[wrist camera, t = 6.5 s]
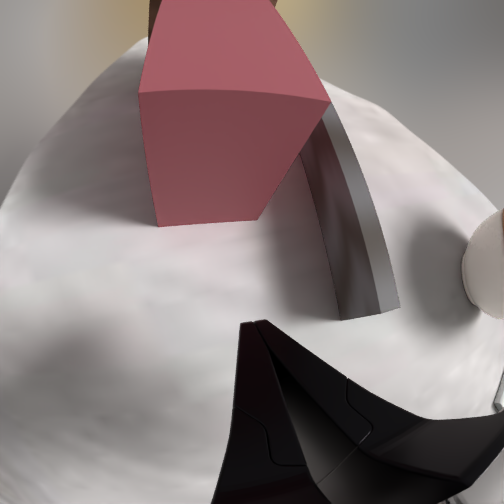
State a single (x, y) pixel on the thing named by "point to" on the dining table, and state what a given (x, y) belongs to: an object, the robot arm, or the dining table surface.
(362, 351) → the dining table surface
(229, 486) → the robot arm
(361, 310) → the bookend
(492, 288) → the lidded jar
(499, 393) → the external hard drive
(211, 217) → the pink rectangular block
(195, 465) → the dining table surface
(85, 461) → the dining table surface
